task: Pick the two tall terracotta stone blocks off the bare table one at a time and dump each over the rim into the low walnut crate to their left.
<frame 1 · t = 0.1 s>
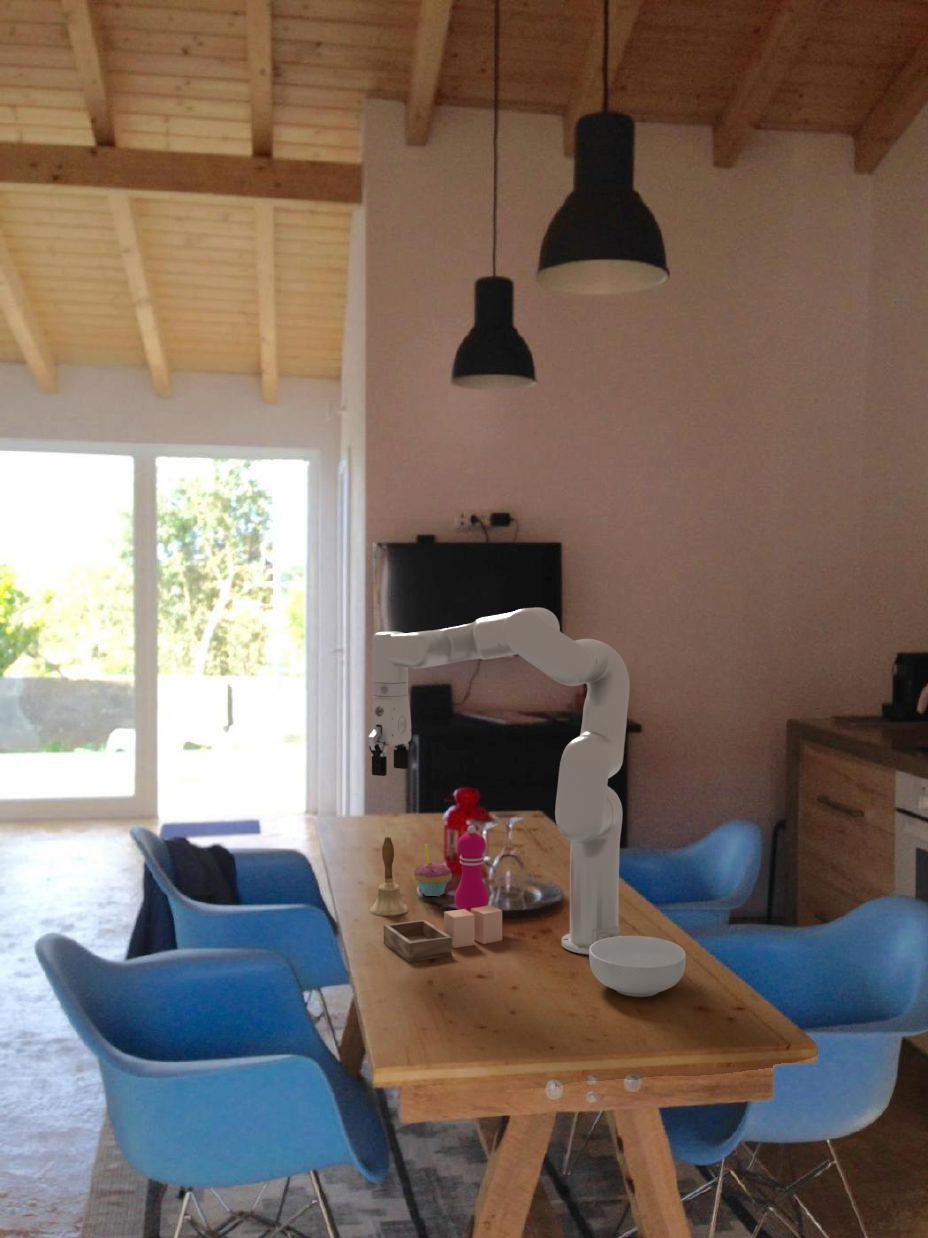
hand: (390, 771, 252), 31 cm above the table, tool pointing down, fingers open, 9 cm apart
hand bell: (389, 911, 259), on the table
pepper mill: (471, 921, 252), on the table
terracotta stone 1: (459, 943, 236), on the table
cupcake: (433, 895, 272), on the table
terracotta stone 2: (486, 939, 239), on the table
cereal bowl: (636, 990, 210), on the table
walnut crate: (417, 949, 232), on the table
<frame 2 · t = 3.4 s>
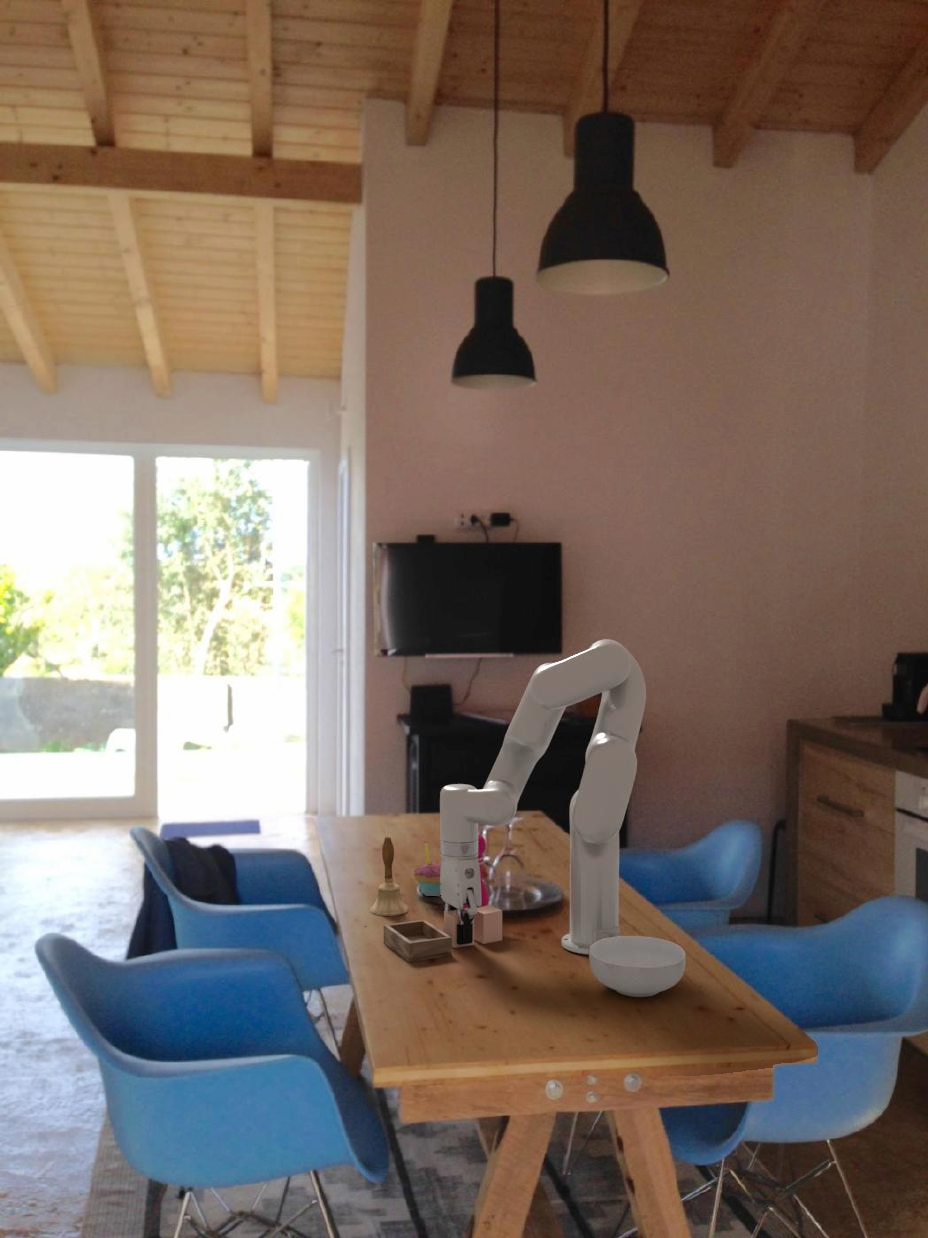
hand: (458, 939, 236), 1 cm above the table, tool pointing down, fingers closed on terracotta stone 1, 4 cm apart
terracotta stone 1: (458, 943, 236), on the table, touching gripper
everything else where it was.
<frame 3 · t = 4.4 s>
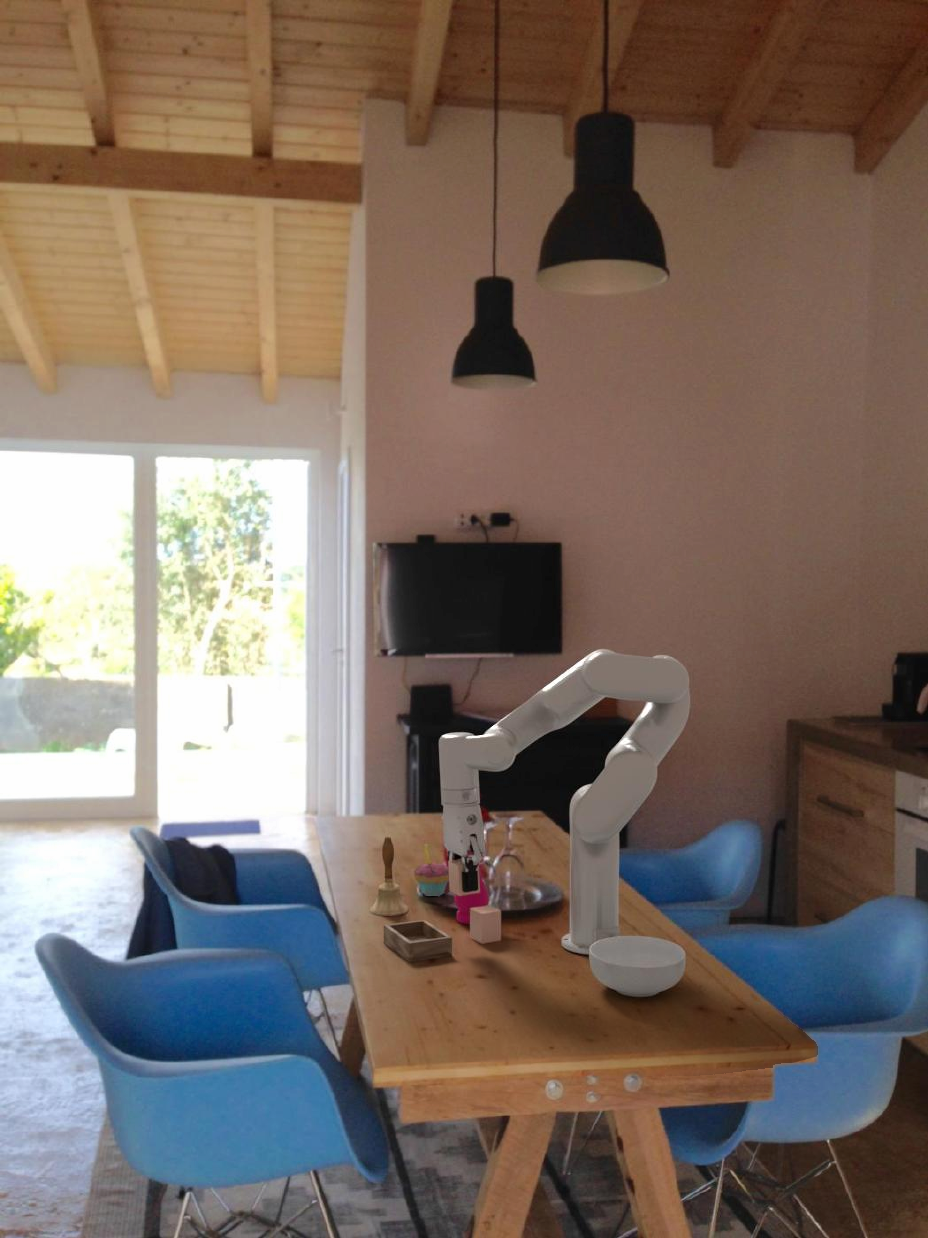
hand: (464, 887, 236), 11 cm above the table, tool pointing down, fingers closed on terracotta stone 1, 4 cm apart
terracotta stone 1: (464, 891, 236), point 10 cm above the table, touching gripper
everything else where it was.
when the fingers open (5 cm above the table, at t = 7.5 s): terracotta stone 1 drops 3 cm, resting on walnut crate.
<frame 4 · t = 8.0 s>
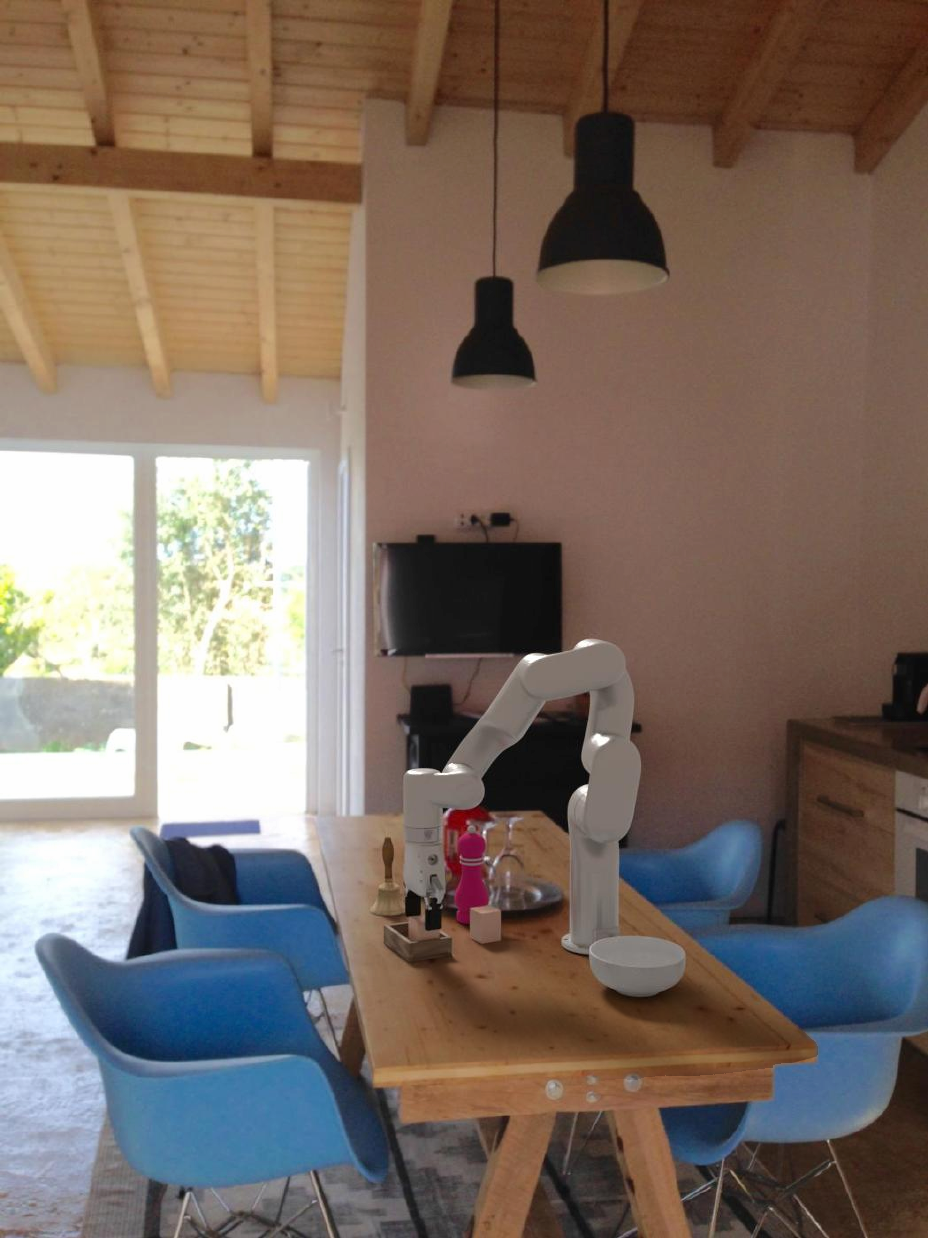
hand: (422, 922, 230), 6 cm above the table, tool pointing down, fingers open, 9 cm apart
terracotta stone 1: (423, 949, 229), point 1 cm above the table, touching walnut crate
everything else where it was.
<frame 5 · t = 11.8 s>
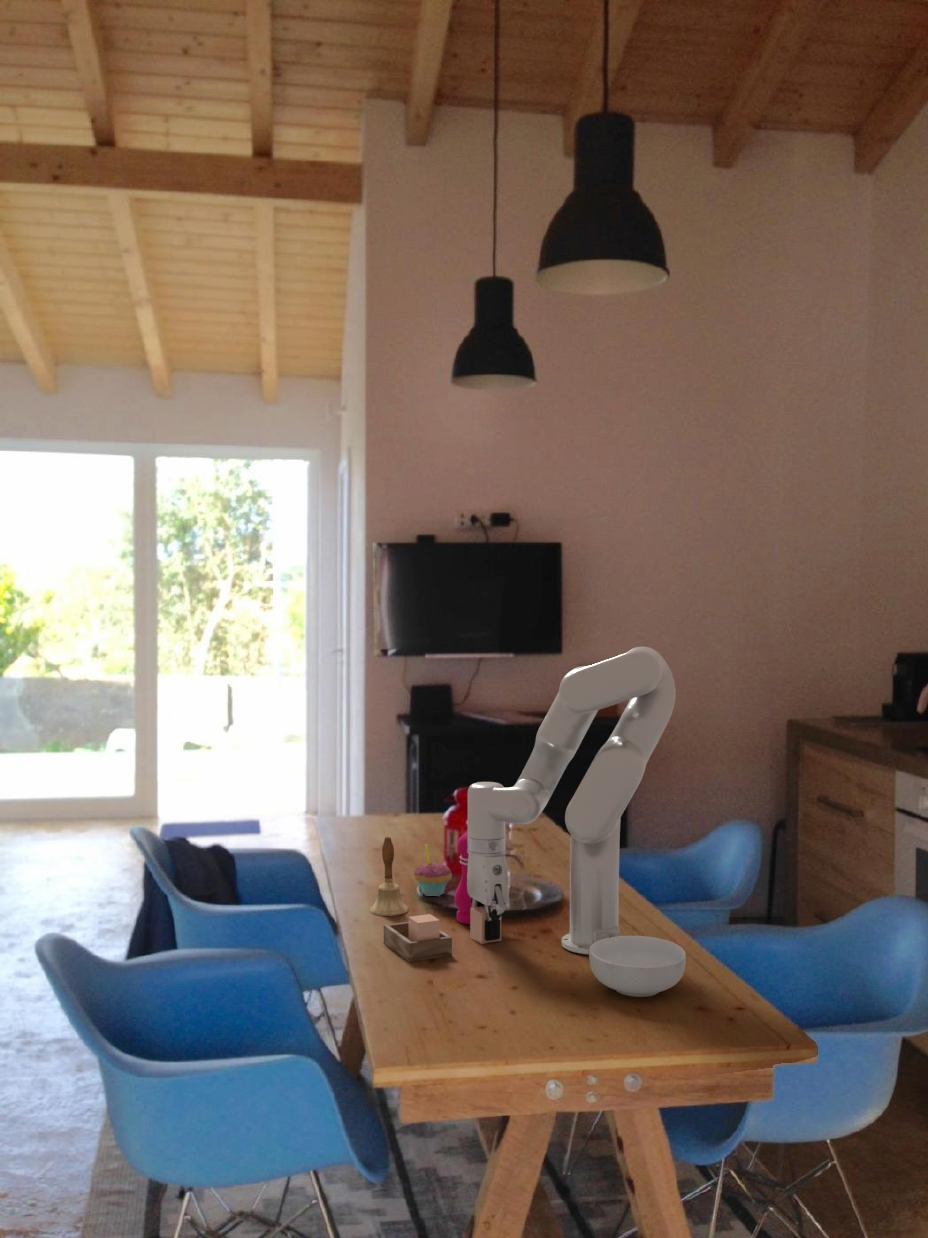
hand: (486, 935, 239), 1 cm above the table, tool pointing down, fingers closed on terracotta stone 2, 4 cm apart
terracotta stone 2: (485, 939, 239), on the table, touching gripper
everything else where it was.
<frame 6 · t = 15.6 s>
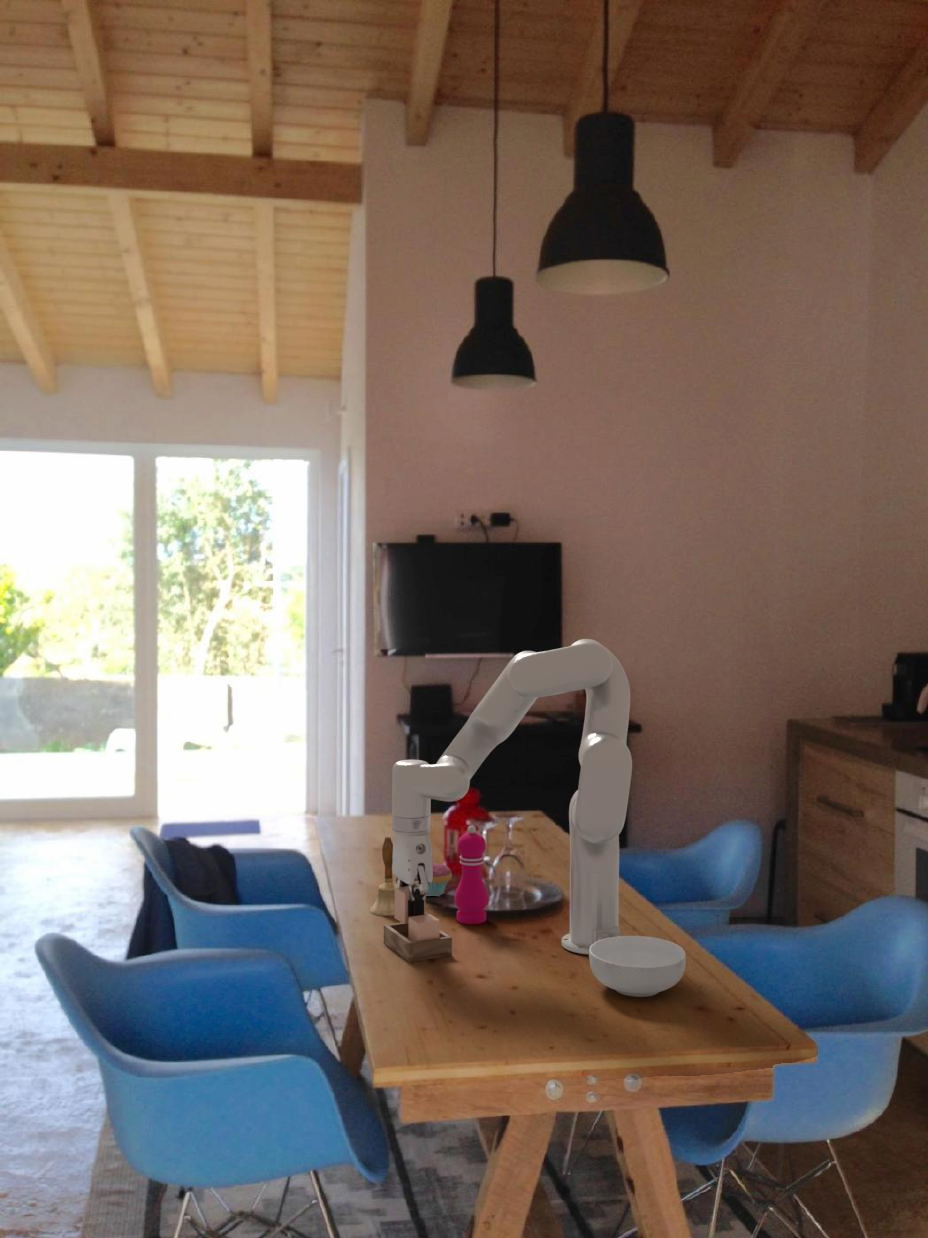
hand: (410, 915, 235), 6 cm above the table, tool pointing down, fingers closed on terracotta stone 2, 4 cm apart
terracotta stone 1: (423, 949, 229), point 1 cm above the table, touching gripper, walnut crate
terracotta stone 2: (409, 919, 235), point 5 cm above the table, touching gripper
everything else where it was.
when the fingers open (5 cm above the table, at t = 16.2 s): terracotta stone 2 drops 4 cm, resting on walnut crate.
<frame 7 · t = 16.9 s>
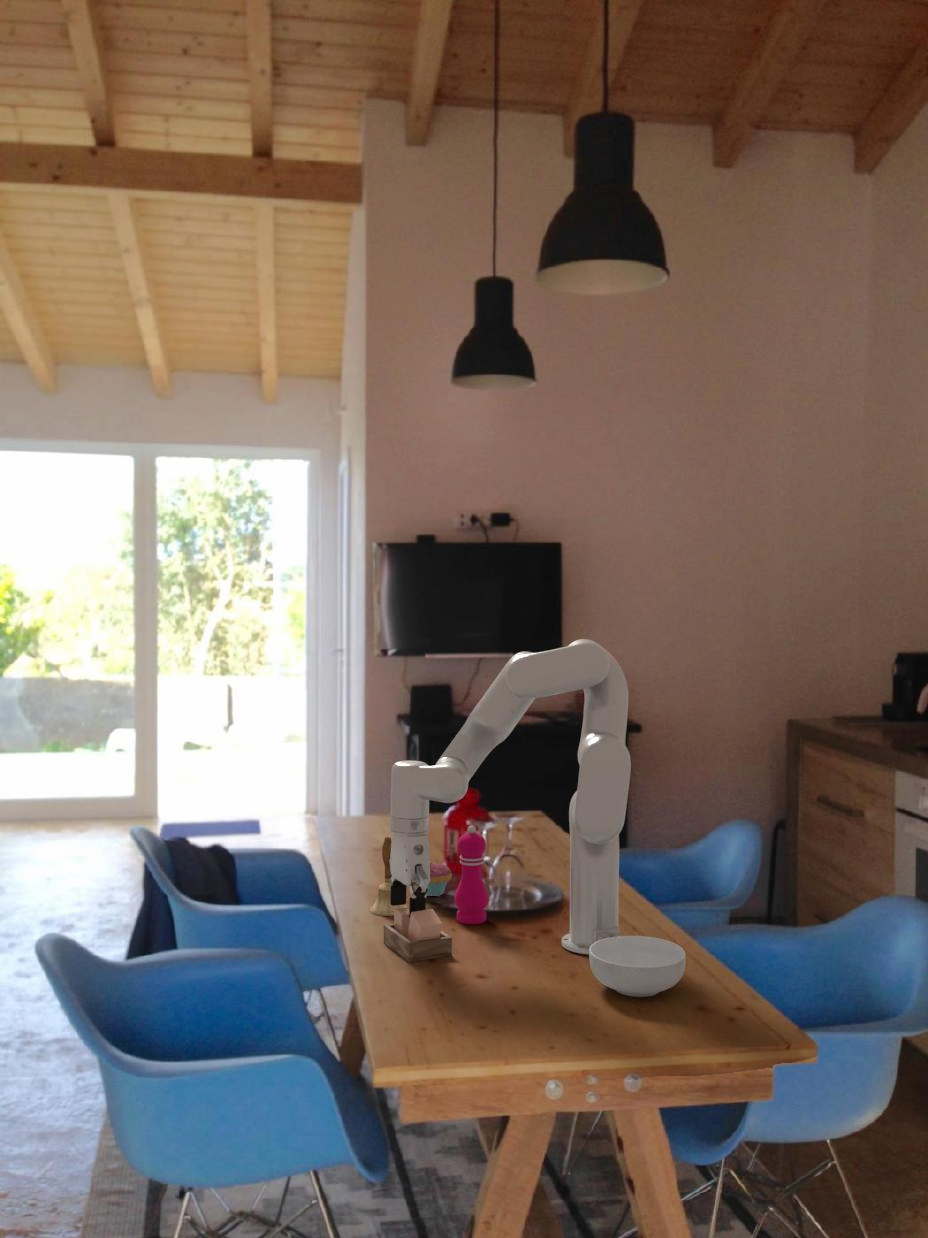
hand: (407, 911, 235), 7 cm above the table, tool pointing down, fingers open, 9 cm apart
terracotta stone 1: (422, 943, 230), point 2 cm above the table, tilted 22°, touching gripper, walnut crate
terracotta stone 2: (408, 941, 235), point 1 cm above the table, touching walnut crate
everything else where it was.
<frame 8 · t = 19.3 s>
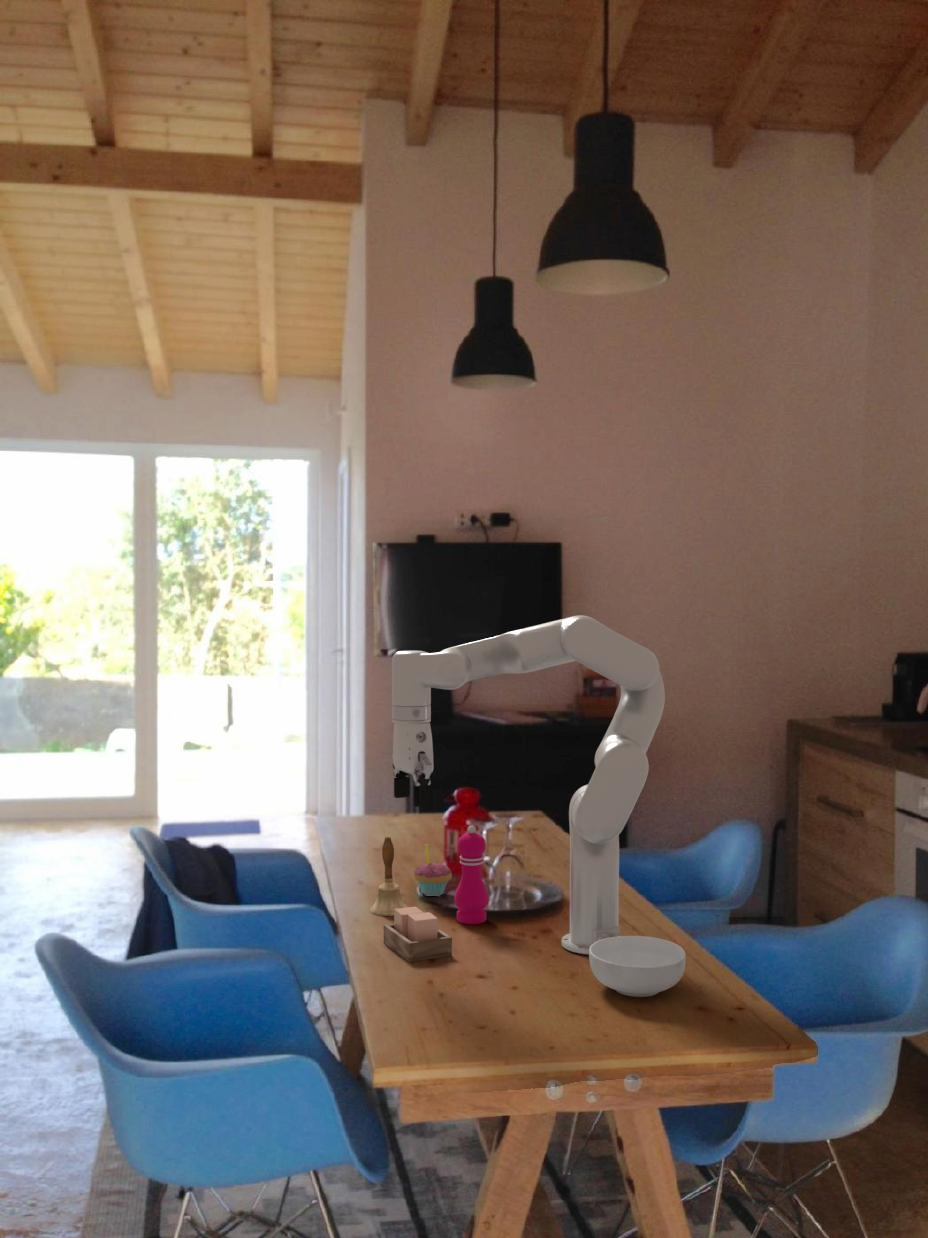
hand: (411, 801, 234), 28 cm above the table, tool pointing down, fingers open, 9 cm apart
terracotta stone 1: (422, 947, 231), point 1 cm above the table, touching walnut crate
everything else where it was.
at the end: terracotta stone 1 inside the target area on the walnut crate (1.7 cm from its centre), point 0.8 cm above the walnut crate's base; terracotta stone 2 inside the target area on the walnut crate (3.0 cm from its centre), point 0.8 cm above the walnut crate's base; the gripper is holding nothing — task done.
